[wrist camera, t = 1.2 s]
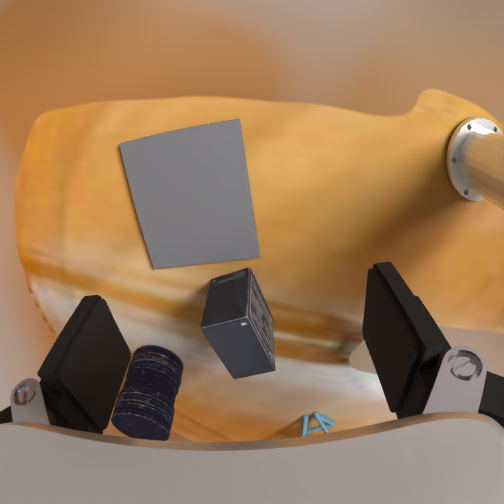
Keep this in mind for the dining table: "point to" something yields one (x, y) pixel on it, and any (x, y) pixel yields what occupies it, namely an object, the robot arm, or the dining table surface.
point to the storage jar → (149, 394)
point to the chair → (319, 420)
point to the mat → (193, 195)
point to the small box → (239, 324)
